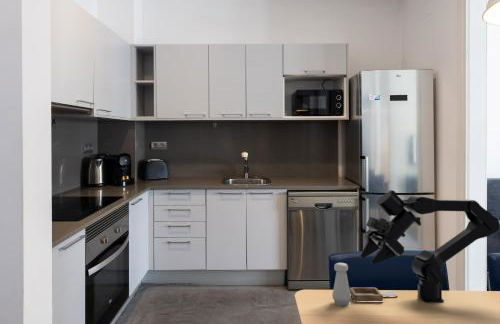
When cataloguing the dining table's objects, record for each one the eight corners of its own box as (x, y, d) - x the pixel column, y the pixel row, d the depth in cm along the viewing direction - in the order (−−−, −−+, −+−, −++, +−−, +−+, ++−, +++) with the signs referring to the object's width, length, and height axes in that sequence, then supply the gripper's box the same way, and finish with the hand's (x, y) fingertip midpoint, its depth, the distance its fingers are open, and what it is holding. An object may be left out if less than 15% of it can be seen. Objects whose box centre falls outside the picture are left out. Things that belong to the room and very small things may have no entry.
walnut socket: (376, 294, 147) (375, 287, 147) (382, 302, 138) (382, 295, 138) (349, 294, 148) (349, 287, 148) (354, 302, 139) (354, 295, 139)
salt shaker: (352, 306, 134) (351, 265, 134) (334, 306, 134) (333, 265, 135) (348, 300, 140) (348, 261, 140) (331, 301, 140) (330, 261, 140)
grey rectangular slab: (391, 293, 148) (391, 291, 148) (397, 297, 143) (397, 295, 143) (372, 293, 148) (372, 291, 148) (376, 297, 143) (376, 296, 143)
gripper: (370, 206, 149) (340, 238, 147) (394, 211, 130) (359, 248, 129) (392, 228, 149) (362, 260, 148) (419, 236, 131) (384, 273, 129)
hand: (366, 260), depth 138 cm, fingers open, 9 cm apart
